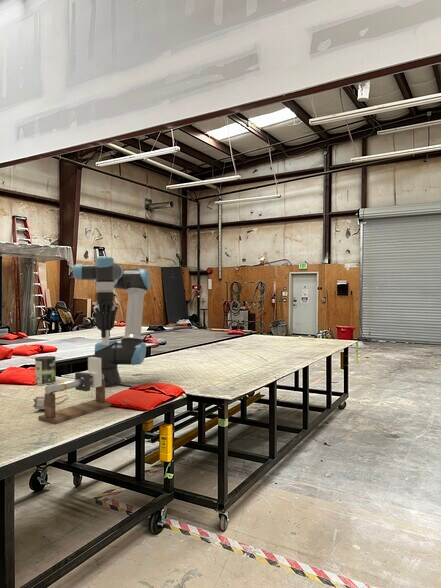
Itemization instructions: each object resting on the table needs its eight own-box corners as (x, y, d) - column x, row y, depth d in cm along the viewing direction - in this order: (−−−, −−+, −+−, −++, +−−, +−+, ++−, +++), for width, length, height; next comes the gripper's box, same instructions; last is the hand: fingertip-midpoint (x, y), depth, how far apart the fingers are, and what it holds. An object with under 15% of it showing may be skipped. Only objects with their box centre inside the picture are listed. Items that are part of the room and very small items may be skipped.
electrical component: (57, 404, 188) (58, 393, 189) (70, 404, 188) (70, 393, 189) (32, 409, 165) (33, 396, 166) (47, 409, 165) (47, 396, 166)
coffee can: (58, 380, 224) (58, 355, 224) (50, 385, 214) (50, 358, 214) (40, 381, 225) (40, 356, 225) (31, 385, 214) (31, 359, 214)
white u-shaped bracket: (92, 384, 175) (91, 357, 175) (101, 386, 172) (101, 358, 172) (84, 386, 171) (84, 358, 171) (94, 387, 168) (93, 359, 168)
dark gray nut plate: (78, 388, 170) (78, 372, 170) (90, 390, 166) (90, 373, 166) (75, 389, 168) (75, 372, 168) (86, 391, 164) (86, 374, 164)
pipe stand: (95, 402, 179) (95, 379, 179) (111, 405, 174) (111, 381, 174) (38, 419, 155) (38, 392, 155) (55, 424, 150) (54, 396, 150)
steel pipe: (99, 380, 177) (99, 372, 177) (104, 381, 175) (104, 373, 175) (44, 394, 154) (44, 385, 154) (50, 395, 152) (50, 386, 152)
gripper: (110, 291, 185) (110, 342, 185) (87, 291, 174) (88, 346, 174) (122, 291, 181) (122, 343, 181) (99, 291, 170) (100, 347, 170)
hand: (105, 344), depth 178 cm, fingers closed
